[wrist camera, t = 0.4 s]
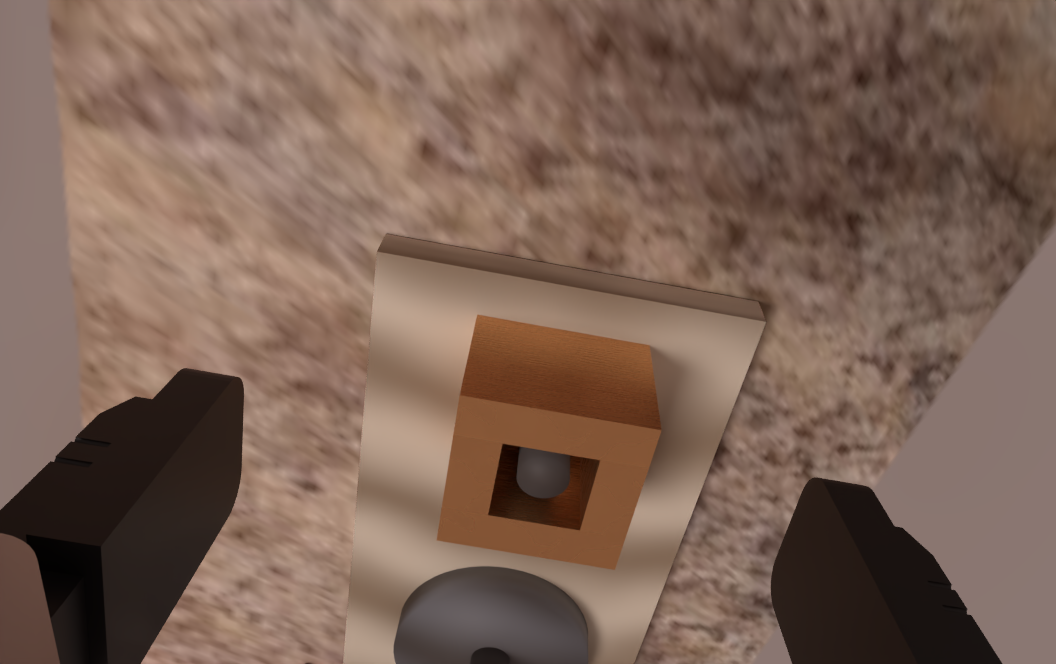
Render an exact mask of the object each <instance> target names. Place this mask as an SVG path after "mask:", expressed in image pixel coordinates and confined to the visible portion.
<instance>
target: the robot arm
mask: <svg viewBox="0 0 1056 664" xmlns="http://www.w3.org/2000/svg"><path fill="white" fill-rule="evenodd" d="M243 406H244V388H243V382H242V380H241V379H240V378H239V377H235V376H229V375H223V374H217V373H211V372H205V371H200V370H194V369H188V368H183V369H181V370H180V371H179V372H178V373H177V374H176V375H175V376H174V377H173V378H172V379H171V380H170V381H169V382H168V383H167V384H166V386H165V387H164V388H163V389H162V390H161V391H160V392H159V393H158V394H157V395H156V396H155V397H154V398H153V399H147V398H141V397H134V398H132V399H129V400H127V401H125V402H123V403H121V404H119V405H117V406H115V407H113V408H111V409H108V410H106V411H104V412H102V413H100V414H99V415H98V416H97V417H96V418H95V419H94V420H93V421H92V422H91V423H89V424H88V425H87V426H86V427H85V428H84V429H83V430H82V431H81V432H80V433H79V434H78V435H77V436H76V439H75V442H70V443H69V444H68V445H67V446H66V447H65V448H64V449H63V450H62V451H61V452H60V453H59V454H58V455H57V456H56V459H55V461H54V462H50V463H48V464H47V465H46V466H45V467H44V468H43V469H42V470H41V471H40V472H39V473H38V474H37V475H36V476H35V477H34V478H33V479H32V480H31V481H30V482H29V483H28V484H27V485H26V486H25V487H24V488H23V489H22V490H21V491H20V492H19V493H18V494H17V495H16V496H14V498H13V499H11V500H10V501H9V502H8V503H7V504H6V505H5V506H4V507H3V508H2V509H1V510H0V664H141V662H142V660H143V659H144V657H145V655H146V654H147V652H148V650H149V649H150V647H151V645H152V644H153V642H154V640H155V639H156V637H157V635H158V634H159V632H160V630H161V629H162V627H163V625H164V624H165V622H166V620H167V619H168V617H169V615H170V614H171V612H172V610H173V609H174V607H175V605H176V604H177V602H178V600H179V599H180V597H181V595H182V594H183V592H184V590H185V589H186V587H187V585H188V584H189V582H190V580H191V579H192V577H193V575H194V574H195V572H196V570H197V569H198V567H199V565H200V564H201V562H202V560H203V559H204V557H205V555H206V554H207V552H208V550H209V549H210V547H211V545H212V544H213V542H214V540H215V538H216V537H217V535H218V533H219V532H220V530H221V528H222V527H223V525H224V523H225V522H226V520H227V518H228V517H229V515H230V513H231V511H232V508H233V506H234V503H235V500H236V497H237V493H238V489H239V484H240V478H241V467H242V437H243ZM771 598H772V604H773V608H774V611H775V614H776V617H777V620H778V623H779V626H780V629H781V632H782V634H783V637H784V641H785V644H786V647H787V649H788V652H789V655H790V658H791V661H792V664H1002V663H1001V661H1000V659H999V658H998V656H997V655H996V653H995V652H994V650H993V649H992V647H991V645H990V644H989V642H988V641H987V639H986V638H985V636H984V634H983V633H982V631H981V630H980V628H979V627H978V625H977V624H976V622H975V620H974V619H973V617H972V616H971V615H967V608H966V606H965V605H964V603H963V602H962V600H961V599H960V597H959V595H958V594H957V592H956V591H955V590H951V583H950V581H949V580H948V578H947V577H946V575H945V574H944V572H943V571H942V569H941V567H940V566H939V564H938V563H937V561H936V559H935V558H934V556H933V555H932V554H931V553H930V552H929V551H927V550H926V549H925V548H924V547H923V546H922V545H920V543H918V542H917V541H916V540H915V539H914V538H913V537H912V536H911V535H910V534H908V533H907V532H906V531H905V530H904V529H903V528H900V527H895V526H894V525H893V523H892V522H891V520H890V518H889V517H888V515H887V513H886V512H885V510H884V509H883V507H882V505H881V503H880V502H879V500H878V498H877V497H876V495H875V493H874V492H873V491H872V489H870V488H869V487H867V486H863V485H857V484H852V483H846V482H840V481H834V480H828V479H822V478H812V479H811V480H809V481H808V482H807V484H806V485H805V487H804V489H803V491H802V493H801V496H800V498H799V501H798V504H797V506H796V509H795V511H794V514H793V516H792V519H791V521H790V524H789V526H788V529H787V532H786V534H785V537H784V539H783V542H782V544H781V547H780V549H779V552H778V554H777V557H776V560H775V563H774V566H773V571H772V577H771Z"/></svg>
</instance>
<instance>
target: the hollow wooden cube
mask: <svg viewBox="0 0 1056 664" xmlns="http://www.w3.org/2000/svg"><path fill="white" fill-rule="evenodd" d="M661 431H662V429H661V422H660V415H659V408H658V401H657V394H656V387H655V380H654V373H653V366H652V359H651V352H650V345H645V344H640V343H634V342H629V341H623V340H617V339H612V338H606V337H601V336H595V335H589V334H584V333H578V332H573V331H567V330H561V329H556V328H550V327H544V326H539V325H533V324H528V323H522V322H516V321H511V320H505V319H500V318H494V317H488V316H483V315H477V318H476V322H475V327H474V331H473V336H472V341H471V345H470V350H469V354H468V359H467V363H466V368H465V373H464V377H463V382H462V386H461V391H460V396H459V402H458V408H457V414H456V421H455V427H454V433H453V440H452V446H451V452H450V458H449V465H448V471H447V477H446V483H445V490H444V496H443V502H442V508H441V515H440V521H439V527H438V534H437V541H443V542H449V543H455V544H461V545H467V546H473V547H479V548H485V549H491V550H497V551H503V552H509V553H516V554H522V555H528V556H534V557H540V558H546V559H552V560H558V561H564V562H570V563H576V564H582V565H588V566H594V567H600V568H606V569H612V570H615V568H616V565H617V562H618V559H619V556H620V553H621V550H622V547H623V544H624V541H625V538H626V535H627V532H628V529H629V526H630V523H631V520H632V517H633V514H634V511H635V508H636V505H637V502H638V499H639V497H640V494H641V491H642V488H643V485H644V482H645V479H646V476H647V473H648V470H649V467H650V464H651V461H652V458H653V455H654V452H655V449H656V446H657V443H658V440H659V437H660V434H661ZM519 446H520V447H526V448H532V449H537V450H543V451H549V452H555V453H561V454H567V455H570V482H569V485H568V487H567V488H566V490H565V491H564V492H563V493H561V494H559V495H558V496H555V497H552V498H537V497H533V496H531V495H528V494H527V493H525V492H524V491H523V490H522V489H521V488H520V487H519V485H518V483H517V477H516V476H517V466H518V456H519Z"/></svg>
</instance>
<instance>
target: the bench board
mask: <svg viewBox="0 0 1056 664" xmlns="http://www.w3.org/2000/svg"><path fill="white" fill-rule="evenodd" d="M477 315H483V316H488V317H494V318H500V319H505V320H511V321H516V322H522V323H528V324H533V325H539V326H544V327H550V328H556V329H561V330H567V331H573V332H578V333H584V334H589V335H595V336H601V337H606V338H612V339H617V340H623V341H629V342H634V343H640V344H645V345H650V352H651V359H652V366H653V373H654V380H655V387H656V394H657V401H658V408H659V415H660V422H661V429H662V431H661V434H660V437H659V440H658V443H657V446H656V449H655V452H654V455H653V458H652V461H651V464H650V467H649V470H648V473H647V476H646V479H645V482H644V485H643V488H642V491H641V494H640V497H639V499H638V502H637V505H636V508H635V511H634V514H633V517H632V520H631V523H630V526H629V529H628V532H627V535H626V538H625V541H624V544H623V547H622V550H621V553H620V556H619V559H618V562H617V565H616V568H615V570H612V569H606V568H600V567H594V566H588V565H582V564H576V563H570V562H564V561H558V560H552V559H546V558H540V557H534V556H528V555H522V554H516V553H509V552H503V551H497V550H491V549H485V548H479V547H473V546H467V545H461V544H455V543H449V542H443V541H437V534H438V527H439V521H440V515H441V508H442V502H443V496H444V490H445V483H446V477H447V471H448V465H449V458H450V452H451V446H452V440H453V433H454V427H455V421H456V414H457V408H458V402H459V396H460V391H461V386H462V382H463V377H464V373H465V368H466V363H467V359H468V354H469V350H470V345H471V341H472V336H473V331H474V327H475V322H476V318H477ZM765 324H766V320H765V317H764V315H763V312H762V310H761V307H760V305H759V302H758V301H753V300H747V299H742V298H736V297H730V296H725V295H719V294H714V293H708V292H703V291H697V290H692V289H686V288H681V287H675V286H670V285H664V284H659V283H653V282H648V281H642V280H637V279H631V278H626V277H620V276H615V275H609V274H604V273H598V272H593V271H587V270H582V269H576V268H571V267H565V266H560V265H554V264H549V263H543V262H538V261H532V260H527V259H521V258H516V257H510V256H505V255H499V254H494V253H488V252H483V251H477V250H472V249H466V248H461V247H455V246H450V245H444V244H439V243H433V242H428V241H422V240H417V239H411V238H406V237H400V236H395V235H389V234H386V235H385V237H384V239H383V241H382V243H381V245H380V247H379V249H378V251H377V257H376V269H375V281H374V294H373V306H372V318H371V330H370V342H369V354H368V367H367V379H366V391H365V403H364V415H363V427H362V440H361V452H360V464H359V476H358V488H357V500H356V513H355V525H354V537H353V549H352V561H351V573H350V585H349V598H348V610H347V622H346V634H345V646H344V658H343V664H634V662H635V660H636V657H637V654H638V652H639V649H640V647H641V644H642V641H643V639H644V636H645V634H646V631H647V629H648V626H649V623H650V621H651V618H652V616H653V613H654V610H655V608H656V605H657V603H658V600H659V598H660V595H661V592H662V590H663V587H664V585H665V582H666V580H667V577H668V574H669V572H670V569H671V567H672V564H673V561H674V559H675V556H676V554H677V551H678V549H679V546H680V543H681V541H682V538H683V536H684V533H685V530H686V528H687V525H688V523H689V520H690V518H691V515H692V512H693V510H694V507H695V505H696V502H697V500H698V497H699V494H700V492H701V489H702V487H703V484H704V481H705V479H706V476H707V474H708V471H709V469H710V466H711V463H712V461H713V458H714V456H715V453H716V450H717V448H718V445H719V443H720V440H721V438H722V435H723V432H724V430H725V427H726V425H727V422H728V420H729V417H730V414H731V412H732V409H733V407H734V404H735V401H736V399H737V396H738V394H739V391H740V389H741V386H742V383H743V381H744V378H745V376H746V373H747V370H748V368H749V365H750V363H751V360H752V358H753V355H754V352H755V350H756V347H757V345H758V342H759V339H760V337H761V334H762V332H763V329H764V327H765ZM516 477H517V483H518V485H519V487H520V488H521V489H522V490H523V491H524V492H525V493H527V494H528V495H531V496H533V497H537V498H552V497H555V496H558V495H559V494H561V493H563V492H564V491H565V490H566V488H567V487H568V485H569V482H570V455H567V454H561V453H555V452H549V451H543V450H537V449H532V448H526V447H520V446H519V456H518V466H517V476H516Z"/></svg>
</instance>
